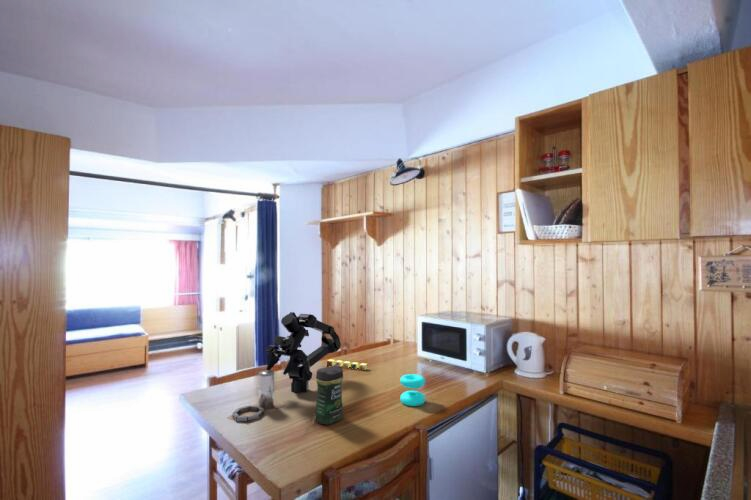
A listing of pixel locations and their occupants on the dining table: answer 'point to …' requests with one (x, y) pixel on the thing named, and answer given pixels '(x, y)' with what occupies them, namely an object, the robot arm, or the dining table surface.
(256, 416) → the ring collar
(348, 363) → the yellow segmented block row
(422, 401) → the donuts
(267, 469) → the dining table surface
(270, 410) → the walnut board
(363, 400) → the dining table surface
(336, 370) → the coffee jar
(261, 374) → the cylinder
